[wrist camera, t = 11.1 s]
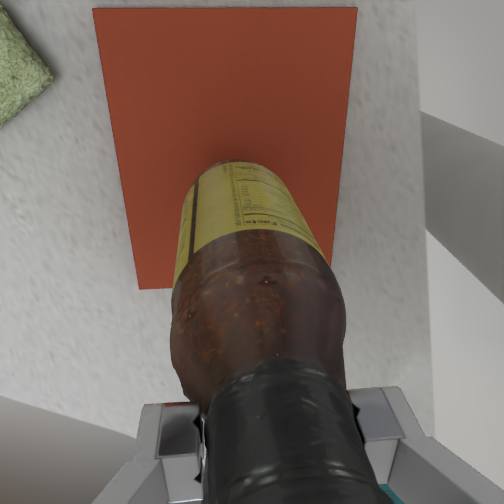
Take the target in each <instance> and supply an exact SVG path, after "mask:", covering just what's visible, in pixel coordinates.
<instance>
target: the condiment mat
mask: <svg viewBox="0 0 504 504" xmlns="http://www.w3.org/2000/svg"><path fill="white" fill-rule="evenodd" d="M357 11H358V8H357V7H316V8H92V12H93V18H94V24H95V30H96V36H97V42H98V48H99V53H100V59H101V65H102V71H103V77H104V83H105V89H106V95H107V101H108V107H109V113H110V119H111V125H112V131H113V137H114V143H115V148H116V154H117V160H118V166H119V172H120V178H121V184H122V190H123V196H124V202H125V208H126V214H127V220H128V226H129V232H130V238H131V244H132V249H133V255H134V261H135V267H136V273H137V279H138V285H139V289H140V290H141V289H160V288H173V282H174V273H175V266H176V258H177V250H178V241H179V232H180V225H181V217H182V209H183V205H184V201H185V198H186V196H187V194H188V192H189V190H190V187H191V184H192V183H193V181H194V179H195V178H196V177H197V176H198V175H199V174H200V173H201V172H203V171H205V170H206V169H207V168H209V167H211V166H213V165H215V164H216V163H218V162H221V161H225V160H228V159H230V158H241V159H243V160H247V161H252V162H255V163H258V164H259V165H263V166H264V167H266V168H267V169H269V170H271V171H272V172H273V173H275V174H276V175H277V176H278V177H279V178H280V179H281V181H282V182H283V183H284V185H285V186H286V187H287V189H288V191H289V193H290V194H291V196H292V198H293V200H294V202H295V204H296V205H297V207H298V209H299V211H300V213H301V214H302V216H303V218H304V219H305V221H306V223H307V225H308V227H309V229H310V231H311V233H312V235H313V236H314V238H315V240H316V242H317V244H318V246H319V248H320V249H321V251H322V253H323V255H324V257H325V259H326V261H327V262H328V264H329V266H330V268H331V258H332V249H333V239H334V230H335V220H336V211H337V201H338V192H339V182H340V173H341V163H342V154H343V144H344V135H345V125H346V116H347V106H348V96H349V87H350V77H351V68H352V58H353V49H354V39H355V30H356V20H357Z"/></svg>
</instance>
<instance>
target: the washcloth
mask: <svg viewBox="0 0 504 504" xmlns="http://www.w3.org/2000/svg"><path fill="white" fill-rule="evenodd" d="M52 82H53V74H52V73H51V72H50V71H49V67H46V66H45V65H44V64H43V62H42V60H41V59H40V58H39V56H38V55H37V53H36V52H35V51H33V50H32V48H31V47H30V46H29V45H28V43H27V42H26V40H25V39H24V38H23V34H22V33H20V32H19V31H18V30H17V29H16V27H15V25H14V24H13V22H12V20H11V19H10V17H9V16H8V14H7V12H6V11H5V10H3V6H2V5H0V128H1V127H3V124H4V123H5V121H6V120H10V119H11V118H12V117H15V116H17V114H18V113H19V111H20V110H22V109H23V106H24V105H25V104H27V103H29V102H30V101H32V100H33V99H35V98H36V97H38V96H39V95H40V94H41V93H42V92H43V90H45V89H46V87H47V86H49V84H52V85H53V83H52Z"/></svg>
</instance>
